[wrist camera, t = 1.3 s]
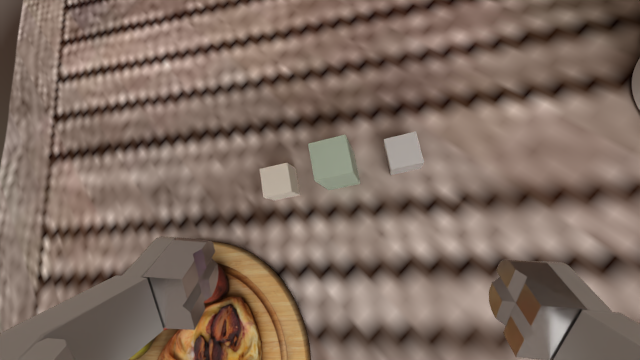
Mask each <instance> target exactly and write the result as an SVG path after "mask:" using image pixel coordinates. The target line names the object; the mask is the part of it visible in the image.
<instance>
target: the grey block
mask: <svg viewBox="0 0 640 360" xmlns="http://www.w3.org/2000/svg"><path fill="white" fill-rule="evenodd" d="M384 148H385V152H386V157H387V161H388V165H389V169H390V174H391V175H394V174H398V173H403V172H407V171H412V170H417V169H421V167H422V165H423V163H424V160H423V156H422V152H421V149H420V145H419V141H418V137H417V133H416V132H411V133H407V134H403V135H399V136H395V137H391V138H387V139H384Z"/></svg>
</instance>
